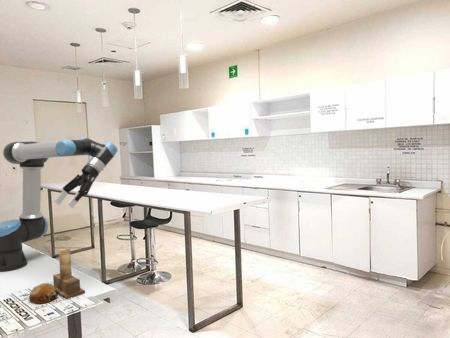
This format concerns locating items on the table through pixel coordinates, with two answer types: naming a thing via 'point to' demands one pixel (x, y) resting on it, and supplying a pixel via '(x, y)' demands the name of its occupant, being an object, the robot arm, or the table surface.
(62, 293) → the base
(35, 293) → the bread roll
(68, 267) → the post
